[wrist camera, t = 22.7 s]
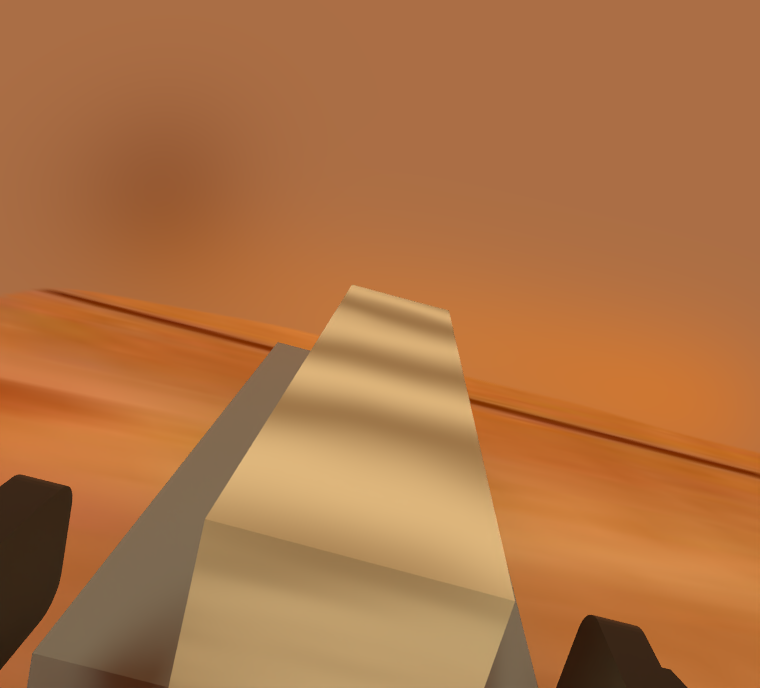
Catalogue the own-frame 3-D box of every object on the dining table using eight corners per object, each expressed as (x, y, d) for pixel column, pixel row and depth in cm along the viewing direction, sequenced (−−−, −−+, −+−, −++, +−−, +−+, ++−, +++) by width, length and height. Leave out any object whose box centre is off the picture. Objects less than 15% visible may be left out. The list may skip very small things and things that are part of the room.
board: (525, 877, 14) (562, 786, 14) (16, 752, 14) (32, 653, 13) (451, 430, 40) (463, 391, 39) (268, 382, 39) (277, 342, 39)
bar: (328, 377, 35) (352, 284, 34) (421, 401, 35) (448, 310, 34) (150, 770, 12) (205, 518, 10) (428, 843, 12) (515, 600, 11)
